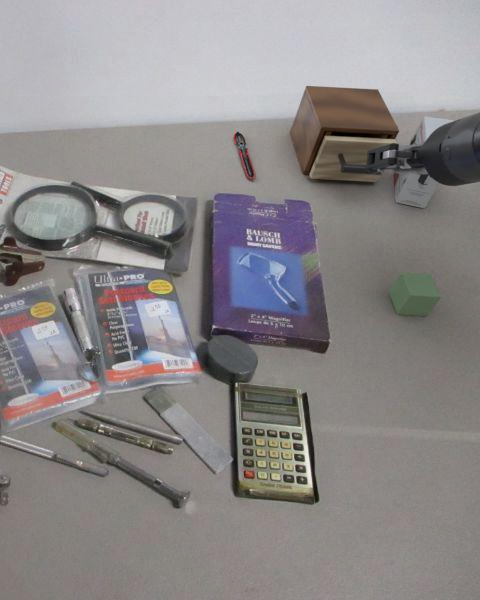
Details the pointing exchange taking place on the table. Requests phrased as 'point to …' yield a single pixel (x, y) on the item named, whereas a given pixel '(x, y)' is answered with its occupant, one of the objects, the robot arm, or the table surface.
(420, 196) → the ink box
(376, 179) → the drawer
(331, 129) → the cabinet
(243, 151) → the red black pliers
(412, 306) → the block
